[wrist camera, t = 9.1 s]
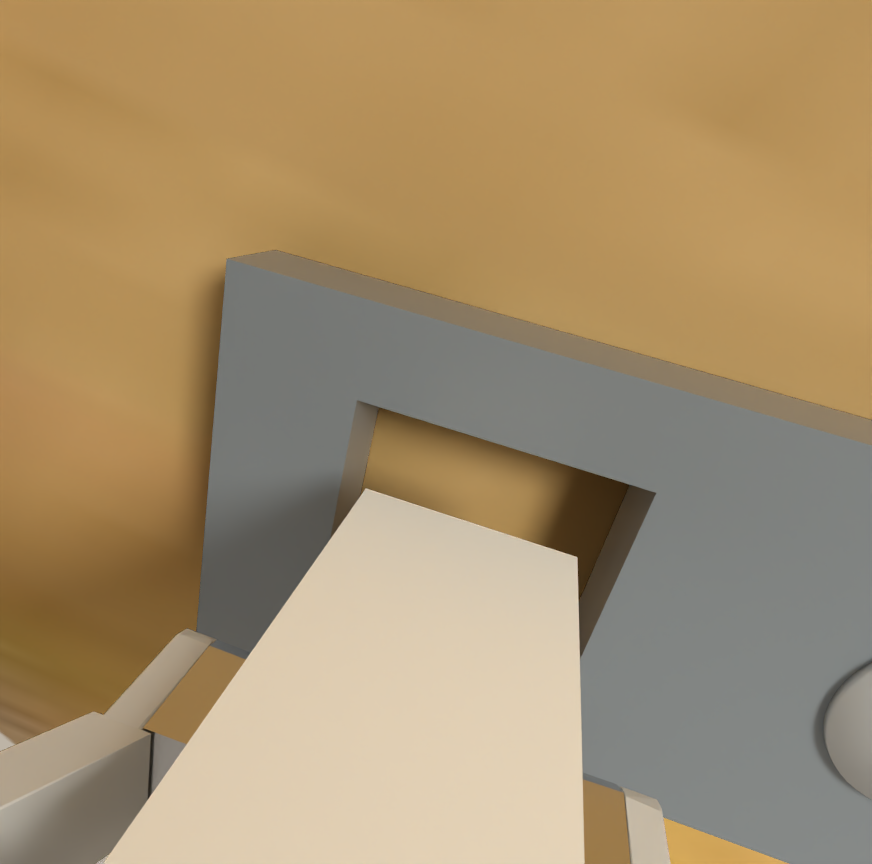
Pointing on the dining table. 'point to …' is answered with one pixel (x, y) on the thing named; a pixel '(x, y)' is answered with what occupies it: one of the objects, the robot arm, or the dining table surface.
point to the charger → (392, 711)
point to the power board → (622, 551)
